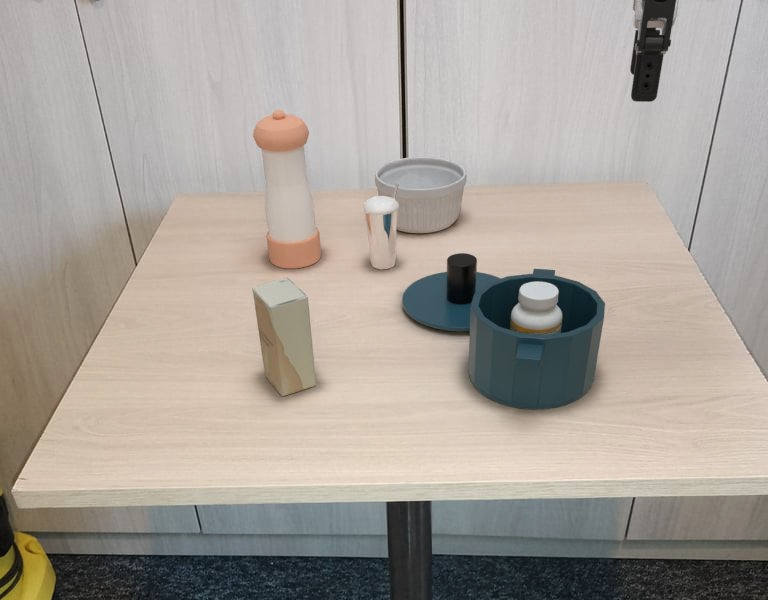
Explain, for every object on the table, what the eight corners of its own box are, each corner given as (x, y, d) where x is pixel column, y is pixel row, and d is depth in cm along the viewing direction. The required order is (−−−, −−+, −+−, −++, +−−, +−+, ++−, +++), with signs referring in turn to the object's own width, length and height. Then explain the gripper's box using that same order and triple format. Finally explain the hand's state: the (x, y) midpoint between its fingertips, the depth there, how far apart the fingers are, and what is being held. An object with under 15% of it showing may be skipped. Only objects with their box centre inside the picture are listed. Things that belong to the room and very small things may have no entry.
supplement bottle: (561, 381, 88) (571, 300, 81) (512, 385, 87) (519, 304, 81) (549, 355, 91) (558, 276, 85) (502, 358, 91) (508, 279, 85)
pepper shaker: (262, 252, 115) (241, 107, 102) (310, 241, 117) (296, 98, 104) (279, 273, 110) (259, 123, 97) (328, 261, 112) (316, 113, 99)
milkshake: (411, 261, 111) (410, 188, 104) (383, 275, 108) (380, 201, 102) (387, 251, 113) (385, 179, 107) (360, 265, 111) (355, 191, 104)
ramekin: (460, 200, 126) (461, 153, 121) (469, 235, 116) (471, 187, 112) (375, 204, 126) (373, 158, 121) (377, 240, 116) (375, 191, 112)
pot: (596, 335, 95) (607, 267, 89) (589, 431, 82) (601, 358, 76) (481, 325, 98) (484, 259, 92) (456, 417, 84) (458, 346, 78)
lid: (524, 282, 105) (528, 237, 101) (512, 340, 95) (516, 293, 91) (415, 274, 108) (414, 230, 104) (391, 330, 98) (389, 283, 94)
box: (264, 375, 91) (249, 285, 84) (298, 364, 93) (287, 274, 85) (283, 398, 88) (269, 306, 80) (318, 386, 89) (308, 294, 82)
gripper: (734, -128, 59) (688, 111, 70) (717, -145, 69) (680, 66, 80) (627, -124, 60) (599, 110, 71) (626, -141, 70) (602, 65, 81)
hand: (642, 86), depth 75 cm, fingers open, 8 cm apart
